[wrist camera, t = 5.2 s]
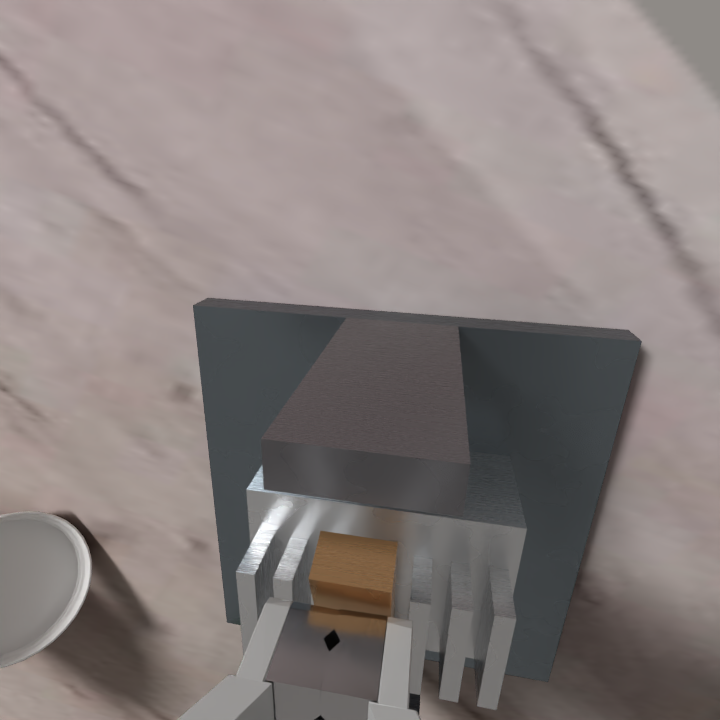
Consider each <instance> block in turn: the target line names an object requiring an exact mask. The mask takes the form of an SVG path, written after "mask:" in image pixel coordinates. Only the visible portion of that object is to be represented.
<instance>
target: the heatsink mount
mask: <svg viewBox="0 0 720 720" xmlns="http://www.w3.org/2000/svg"><path fill="white" fill-rule="evenodd" d="M193 310H194V319H195V328H196V338H197V347H198V356H199V366H200V375H201V384H202V394H203V403H204V412H205V421H206V431H207V440H208V449H209V459H210V468H211V477H212V487H213V496H214V505H215V514H216V524H217V533H218V542H219V552H220V561H221V570H222V580H223V589H224V598H225V608H226V617H227V623H233V624H238V625H241V633H242V644H243V655H244V654H245V652H246V649H247V647H248V644H249V642H250V640H251V637H252V635H253V632H254V630H255V627H256V625H257V622H258V620H259V617H260V615H261V612H262V610H263V607H264V605H265V603H266V602H267V600H268V599H269V598H270V597H273V598H279V599H284V600H290V601H295V602H300V603H306V604H311V605H314V602H313V598H312V593H311V589H310V584H309V580H308V578H309V575H310V571H311V567H312V563H313V559H314V555H315V551H316V547H317V543H318V539H319V535H320V531H327V532H333V533H340V534H347V535H353V536H360V537H367V538H373V539H380V540H387V541H393V542H398V547H397V565H396V583H395V602H394V618H399V619H405V620H412V621H413V643H412V661H411V678H410V696H409V707H410V708H415V709H416V711H417V712H418V714H419V708H420V691H421V683H422V675H423V667H424V659H427V660H432V661H437V662H439V699H442V700H447V701H452V702H457V703H458V698H459V692H460V687H461V681H462V675H463V669H464V667H470V668H475V682H476V698H477V706H478V707H483V708H488V709H493V710H497V705H498V701H499V696H500V692H501V687H502V683H503V678H504V674H507V675H513V676H518V677H524V678H529V679H534V680H540V681H545V682H548V680H549V676H550V673H551V669H552V666H553V662H554V658H555V655H556V651H557V647H558V644H559V640H560V636H561V633H562V629H563V625H564V622H565V618H566V615H567V611H568V607H569V604H570V600H571V596H572V593H573V589H574V585H575V582H576V578H577V575H578V571H579V567H580V564H581V560H582V556H583V553H584V549H585V545H586V542H587V538H588V534H589V531H590V527H591V524H592V520H593V516H594V513H595V509H596V505H597V502H598V498H599V494H600V491H601V487H602V484H603V480H604V476H605V473H606V469H607V465H608V462H609V458H610V454H611V451H612V447H613V443H614V440H615V436H616V433H617V429H618V425H619V422H620V418H621V414H622V411H623V407H624V403H625V400H626V396H627V393H628V389H629V385H630V382H631V378H632V374H633V371H634V367H635V363H636V360H637V356H638V353H639V349H640V345H641V342H642V341H641V340H640V339H639V338H637V337H636V336H635V335H634V334H633V333H631V332H630V331H629V330H620V329H607V328H594V327H581V326H568V325H555V324H542V323H529V322H516V321H503V320H490V319H477V318H463V317H450V316H437V315H424V314H411V313H398V312H385V311H372V310H359V309H346V308H333V307H320V306H307V305H294V304H281V303H267V302H254V301H241V300H228V299H215V298H207V299H205V300H203V301H201V302H199V303H197V304H195V305H193Z"/></svg>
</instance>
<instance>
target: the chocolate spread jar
mask: <svg viewBox="0 0 720 720" xmlns="http://www.w3.org/2000/svg"><path fill="white" fill-rule="evenodd" d="M91 577H92V559H91V554H90V550H89V547H88V545H87V543H86V541H85V539H84V537H83V536H82V534H81V533H80V532H79V531H78V529H77V528H76V527H75V526H73V525H72V524H71V523H69V522H68V521H67V520H65V519H63V518H60V517H58V516H56V515H53V514H49V513H44V512H35V511H23V512H16V513H9V514H4V515H0V668H3V667H7V666H10V665H13V664H16V663H18V662H21V661H24V660H26V659H27V658H29V657H31V656H33V655H35V654H37V653H39V652H40V651H41V650H43V649H44V648H46V647H47V646H48V645H50V644H51V643H52V642H54V641H55V640H56V639H57V638H58V637H59V636H60V635H61V634H62V633H63V632H64V631H65V630H66V629H67V628H68V626H69V625H70V624H71V622H72V621H73V620H74V618H75V617H76V616H77V614H78V612H79V611H80V609H81V607H82V605H83V603H84V601H85V599H86V596H87V593H88V590H89V588H90V582H91Z"/></svg>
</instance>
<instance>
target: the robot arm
mask: <svg viewBox="0 0 720 720" xmlns="http://www.w3.org/2000/svg"><path fill="white" fill-rule="evenodd" d="M412 643H413V621H412V620H405V619H399V618H392V617H388V621H387V616H384V615H377V614H371V613H364V612H357V611H350V610H344V609H340V610H337V609H332V608H327V607H321V606H316V605H311V604H306V603H300V602H295V601H290V600H284V599H279V598H273V597H270V598H269V599H268V600H267V602H266V603H265V605H264V607H263V610H262V612H261V615H260V617H259V620H258V622H257V625H256V627H255V630H254V632H253V635H252V637H251V640H250V642H249V644H248V647H247V649H246V652H245V654H244V657H243V659H242V662H241V664H240V667H239V669H238V672H237V674H236V676H234V675H228V676H227V677H225V678H224V679H223V680H222V681H221V682H220V683H219V684H217V685H216V686H215V687H214V688H213V689H212V690H211V691H209V692H208V693H207V694H206V695H205V696H204V697H202V698H201V699H200V700H199V701H198V702H197V703H196V704H194V705H193V706H192V707H191V708H190V709H189V710H187V711H186V712H185V713H184V714H183V715H182V716H181V717H179V718H178V719H177V720H421V719H420V716H419V714H418V712H417V711H416V710H412V709H409V696H410V678H411V661H412Z"/></svg>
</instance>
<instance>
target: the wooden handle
mask: <svg viewBox="0 0 720 720" xmlns="http://www.w3.org/2000/svg"><path fill="white" fill-rule="evenodd" d="M397 547H398V542H393V541H387V540H380V539H373V538H367V537H360V536H353V535H347V534H340V533H333V532H327V531H320V535H319V539H318V543H317V547H316V551H315V555H314V559H313V563H312V567H311V571H310V575H309V578H308V580H309V584H310V589H311V593H312V598H313V602H314V605H316V606H321V607H327V608H332V609H337V610H340V609H344V610H350V611H357V612H364V613H371V614H377V615H384V616H387V621H388V617H392V618H394V602H395V583H396V565H397ZM409 709H412V710H416V709H415V708H410V707H409Z"/></svg>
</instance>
